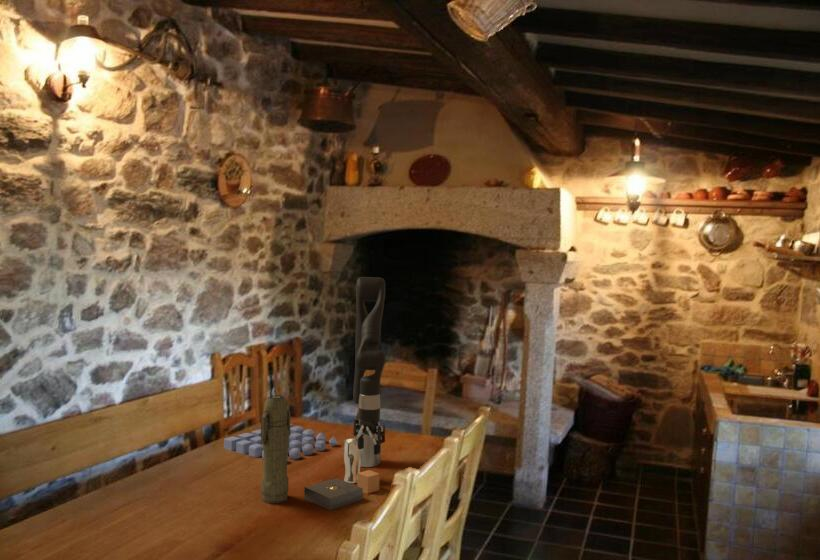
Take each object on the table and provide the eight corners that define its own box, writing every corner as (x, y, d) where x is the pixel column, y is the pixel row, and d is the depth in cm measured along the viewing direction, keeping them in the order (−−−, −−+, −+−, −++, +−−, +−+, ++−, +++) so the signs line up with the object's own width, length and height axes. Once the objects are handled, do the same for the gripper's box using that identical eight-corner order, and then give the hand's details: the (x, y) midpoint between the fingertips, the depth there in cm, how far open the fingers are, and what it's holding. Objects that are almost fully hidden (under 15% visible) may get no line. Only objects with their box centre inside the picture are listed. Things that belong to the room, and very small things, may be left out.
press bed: (336, 489, 248) (336, 477, 248) (362, 499, 238) (362, 488, 238) (304, 498, 238) (304, 487, 238) (330, 510, 228) (330, 498, 228)
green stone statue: (296, 495, 240) (297, 395, 238) (273, 506, 230) (274, 401, 228) (276, 490, 245) (277, 391, 243) (253, 501, 234) (254, 398, 233)
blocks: (285, 433, 321) (285, 422, 320) (341, 447, 300) (341, 435, 300) (223, 450, 292) (223, 438, 292) (281, 467, 272) (281, 454, 272)
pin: (334, 495, 240) (334, 485, 240) (339, 497, 238) (339, 487, 238) (327, 497, 238) (327, 487, 238) (332, 499, 236) (332, 489, 236)
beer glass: (358, 484, 253) (359, 443, 252) (340, 482, 254) (341, 442, 253) (364, 478, 260) (364, 438, 259) (346, 476, 261) (346, 437, 260)
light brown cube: (368, 486, 252) (369, 469, 251) (379, 490, 248) (379, 473, 248) (357, 489, 248) (357, 473, 247) (367, 494, 244) (367, 477, 244)
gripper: (391, 408, 244) (390, 454, 245) (364, 401, 254) (363, 445, 255) (375, 411, 239) (374, 458, 239) (348, 404, 249) (347, 449, 250)
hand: (368, 451), depth 247 cm, fingers open, 8 cm apart
